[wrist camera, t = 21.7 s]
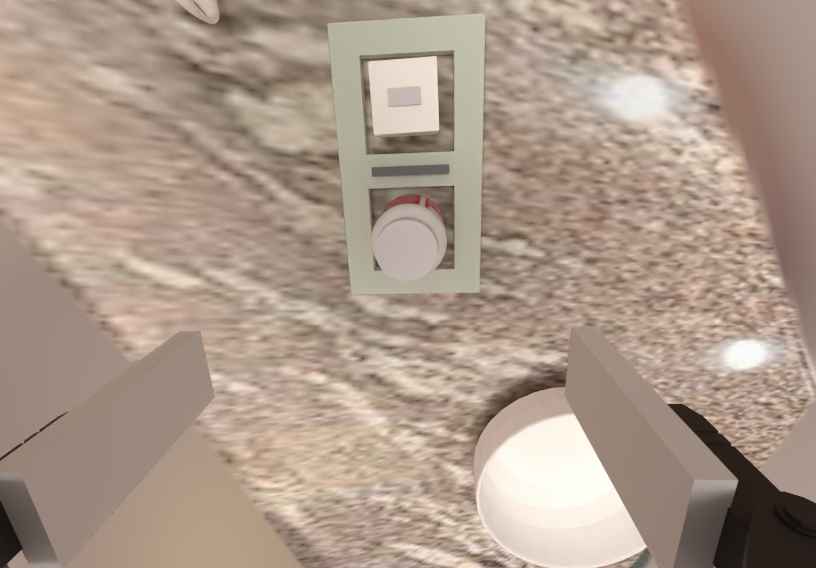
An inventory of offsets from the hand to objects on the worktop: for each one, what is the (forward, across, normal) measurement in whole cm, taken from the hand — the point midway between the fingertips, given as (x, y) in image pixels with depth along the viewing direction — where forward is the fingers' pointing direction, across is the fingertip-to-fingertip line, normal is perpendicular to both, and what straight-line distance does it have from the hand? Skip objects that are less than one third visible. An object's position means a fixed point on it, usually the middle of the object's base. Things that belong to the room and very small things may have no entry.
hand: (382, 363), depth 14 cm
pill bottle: (+27, 0, 0) cm, 27 cm away
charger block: (+27, 0, +11) cm, 29 cm away
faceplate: (+27, 0, +6) cm, 27 cm away
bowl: (+27, +16, -26) cm, 40 cm away
